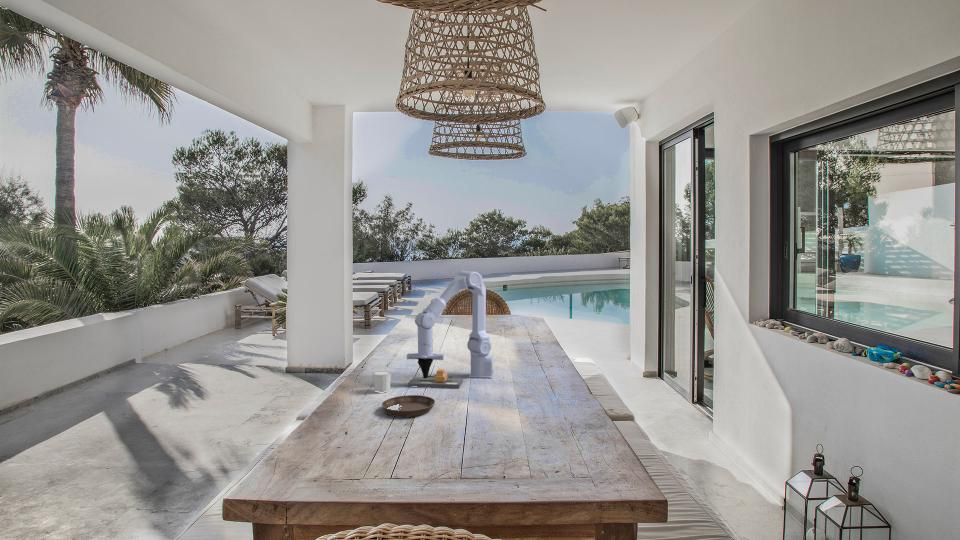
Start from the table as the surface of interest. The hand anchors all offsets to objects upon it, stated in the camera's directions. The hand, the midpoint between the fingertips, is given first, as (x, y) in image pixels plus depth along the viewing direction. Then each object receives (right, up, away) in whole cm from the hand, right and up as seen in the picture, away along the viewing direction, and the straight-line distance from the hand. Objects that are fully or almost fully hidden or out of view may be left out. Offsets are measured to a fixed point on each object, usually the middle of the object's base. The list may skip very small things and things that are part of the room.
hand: (425, 377), depth 230 cm
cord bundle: (+4, -2, +9) cm, 10 cm away
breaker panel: (+4, -3, 0) cm, 5 cm away
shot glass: (-15, -4, -10) cm, 19 cm away
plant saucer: (-3, -5, -34) cm, 34 cm away
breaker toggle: (+6, -1, -1) cm, 6 cm away
